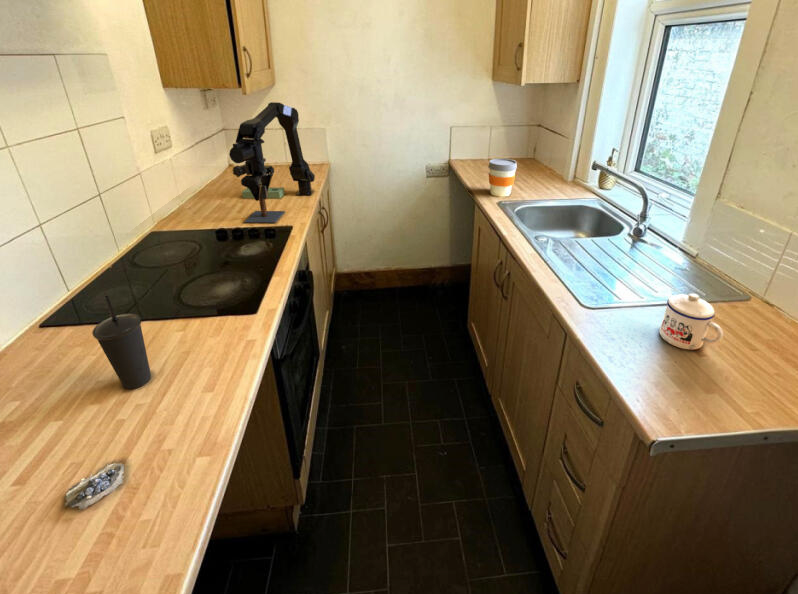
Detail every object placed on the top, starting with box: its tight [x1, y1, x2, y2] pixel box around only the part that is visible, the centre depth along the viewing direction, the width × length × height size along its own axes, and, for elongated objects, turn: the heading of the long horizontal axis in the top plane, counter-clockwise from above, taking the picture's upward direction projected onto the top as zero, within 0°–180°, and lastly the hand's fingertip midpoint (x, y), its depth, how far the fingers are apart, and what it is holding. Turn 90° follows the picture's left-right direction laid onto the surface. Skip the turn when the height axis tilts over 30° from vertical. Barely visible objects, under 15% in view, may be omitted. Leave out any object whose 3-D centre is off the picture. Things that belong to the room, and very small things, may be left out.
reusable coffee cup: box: [488, 158, 518, 197], centre depth 191 cm, size 12×13×15 cm
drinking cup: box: [91, 295, 152, 390], centre depth 79 cm, size 8×8×20 cm
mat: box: [243, 210, 285, 224], centre depth 165 cm, size 12×12×1 cm
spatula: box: [258, 186, 269, 217], centre depth 163 cm, size 2×4×12 cm, turn 89°
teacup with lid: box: [659, 293, 724, 350], centre depth 93 cm, size 12×9×12 cm
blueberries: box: [63, 462, 125, 511], centre depth 63 cm, size 7×8×2 cm
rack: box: [241, 186, 286, 199], centre depth 190 cm, size 7×17×3 cm, turn 89°
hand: (261, 196), depth 162 cm, fingers open, 9 cm apart
